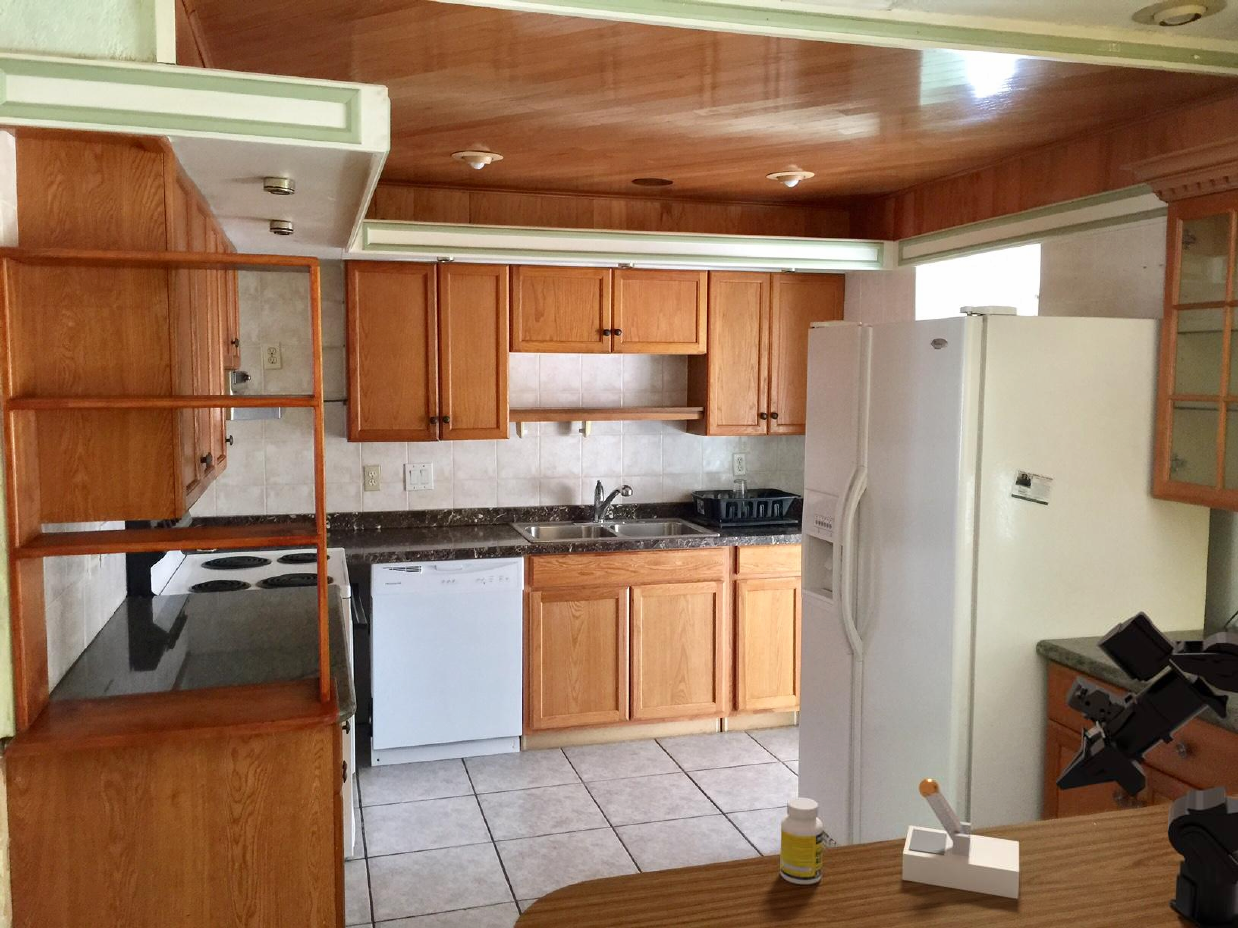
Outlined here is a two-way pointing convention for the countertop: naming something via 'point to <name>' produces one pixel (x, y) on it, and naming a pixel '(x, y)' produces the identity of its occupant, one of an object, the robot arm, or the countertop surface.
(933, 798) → the switch lever
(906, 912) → the countertop surface
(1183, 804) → the robot arm
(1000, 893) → the switch box
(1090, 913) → the countertop surface
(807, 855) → the supplement bottle
